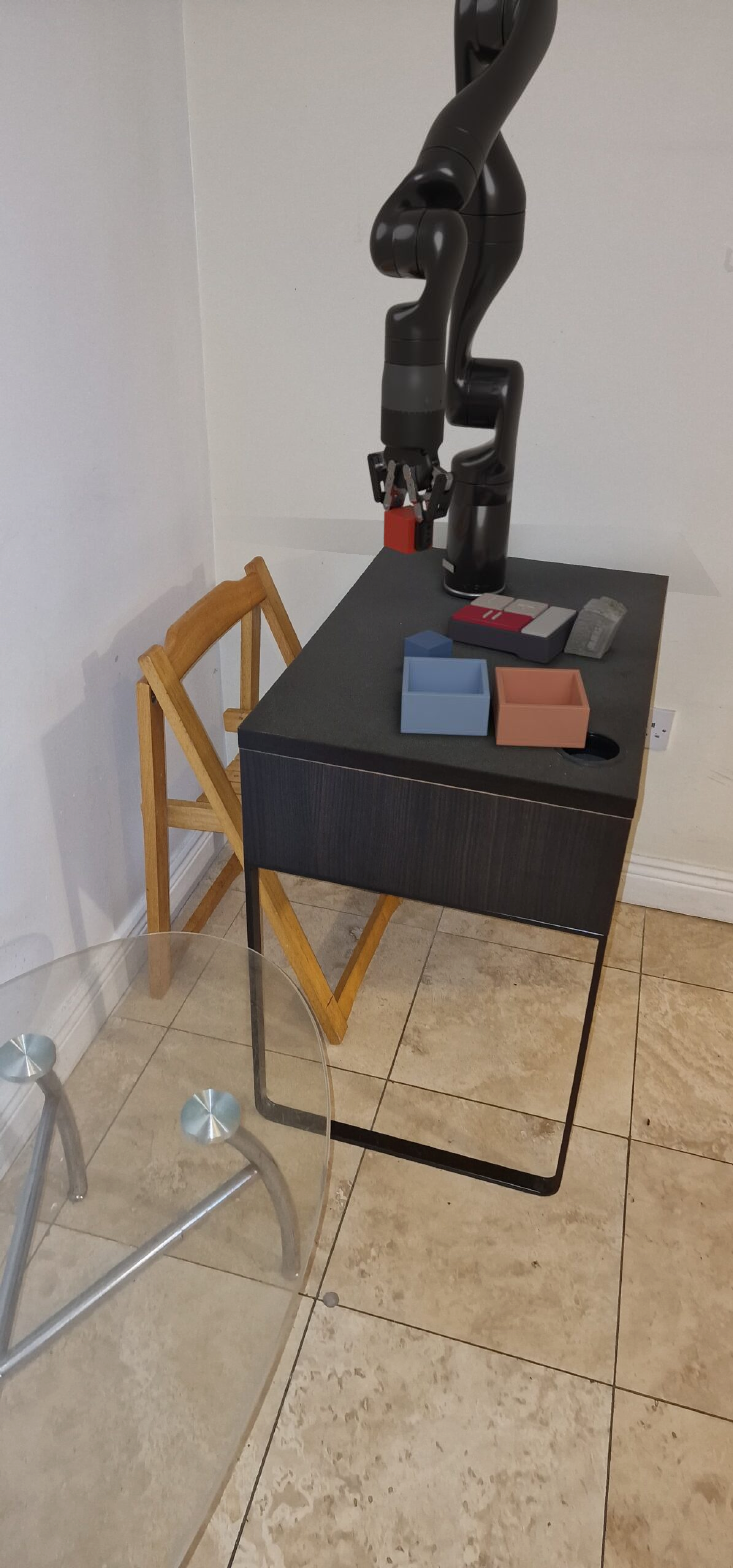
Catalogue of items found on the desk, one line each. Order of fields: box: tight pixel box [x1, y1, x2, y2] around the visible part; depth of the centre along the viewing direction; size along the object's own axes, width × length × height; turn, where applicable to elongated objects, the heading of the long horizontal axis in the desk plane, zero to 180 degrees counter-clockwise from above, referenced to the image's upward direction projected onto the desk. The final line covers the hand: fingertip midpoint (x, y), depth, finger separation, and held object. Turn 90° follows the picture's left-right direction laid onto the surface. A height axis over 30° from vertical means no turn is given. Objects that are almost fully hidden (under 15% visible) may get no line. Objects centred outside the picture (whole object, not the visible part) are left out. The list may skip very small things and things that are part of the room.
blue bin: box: [400, 656, 491, 737], centre depth 121 cm, size 10×10×5 cm
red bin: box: [491, 666, 591, 749], centre depth 119 cm, size 10×10×5 cm
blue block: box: [403, 629, 454, 658], centre depth 132 cm, size 4×4×4 cm
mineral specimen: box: [563, 596, 628, 660], centre depth 136 cm, size 7×9×8 cm
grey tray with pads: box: [447, 593, 579, 664], centre depth 141 cm, size 11×4×15 cm
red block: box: [383, 504, 435, 555], centre depth 127 cm, size 4×4×4 cm
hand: (408, 544), depth 128 cm, fingers closed on red block, 4 cm apart
